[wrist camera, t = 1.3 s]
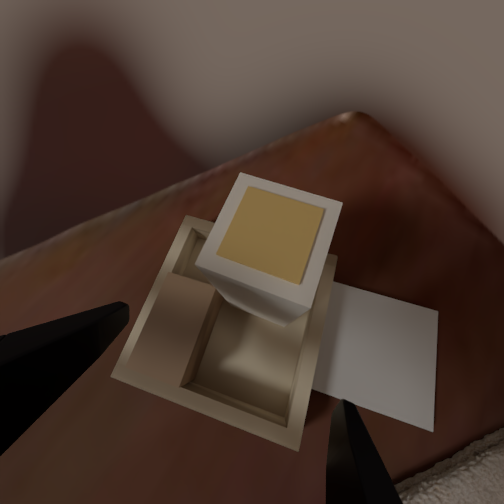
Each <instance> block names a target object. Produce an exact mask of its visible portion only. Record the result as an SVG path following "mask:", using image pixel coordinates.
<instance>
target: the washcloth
mask: <svg viewBox="0 0 504 504" xmlns="http://www.w3.org/2000/svg"><path fill="white" fill-rule="evenodd" d="M394 486H395V488H396V490H397V492H398V494H399V496H400V498H401V501H402V503H403V504H504V428H500V429H499V431H495V432H494V433H492V434H487V435H485V436H484V438H483V439H482V440H478V441H473V443H470V446H466V447H465V448H464V450H462V451H458V452H457V453H456V454H454V455H453V456H452V458H447V459H445V460H444V461H442V462H438V463H436V464H435V466H434V467H433V468H430V469H428V470H427V471H424V472H423V473H417V474H416V475H415V476H414V477H412V478H407V479H406V480H403V481H402V482H401V483H398V484H397V485H394Z"/></svg>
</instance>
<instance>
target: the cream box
mask: <svg viewBox="0 0 504 504" xmlns="http://www.w3.org/2000/svg"><path fill="white" fill-rule="evenodd" d="M342 204H343V203H342V202H339V201H335V200H332V199H329V198H325V197H322V196H318V195H315V194H312V193H308V192H305V191H302V190H298V189H295V188H291V187H288V186H285V185H281V184H278V183H274V182H271V181H268V180H264V179H261V178H258V177H254V176H251V175H247V174H244V173H241V172H240V174H239V176H238V178H237V180H236V182H235V184H234V186H233V188H232V190H231V192H230V194H229V196H228V198H227V200H226V202H225V204H224V206H223V208H222V210H221V212H220V214H219V216H218V218H217V220H216V222H215V224H214V226H213V228H212V230H211V232H210V234H209V236H208V238H207V240H206V242H205V244H204V246H203V248H202V250H201V252H200V254H199V256H198V258H197V260H196V262H195V265H196V267H197V268H198V269H199V270H200V271H201V272H202V273H203V274H204V276H205V277H206V278H207V279H208V280H209V281H210V282H211V284H212V285H213V286H214V287H215V288H216V289H217V290H218V292H219V293H220V294H221V295H222V296H223V297H224V298H225V300H226V301H227V302H228V303H229V304H230V305H231V306H233V307H235V308H238V309H240V310H243V311H245V312H248V313H250V314H253V315H255V316H258V317H260V318H263V319H265V320H268V321H270V322H273V323H275V324H278V325H280V326H283V327H285V326H286V325H288V324H289V323H291V322H292V321H294V320H295V319H296V318H298V317H299V316H301V315H302V314H304V313H305V312H306V311H308V310H309V309H311V306H312V303H313V299H314V296H315V293H316V290H317V286H318V283H319V280H320V276H321V273H322V270H323V266H324V263H325V260H326V257H327V253H328V250H329V247H330V243H331V240H332V237H333V233H334V230H335V227H336V224H337V220H338V217H339V214H340V210H341V207H342Z"/></svg>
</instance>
